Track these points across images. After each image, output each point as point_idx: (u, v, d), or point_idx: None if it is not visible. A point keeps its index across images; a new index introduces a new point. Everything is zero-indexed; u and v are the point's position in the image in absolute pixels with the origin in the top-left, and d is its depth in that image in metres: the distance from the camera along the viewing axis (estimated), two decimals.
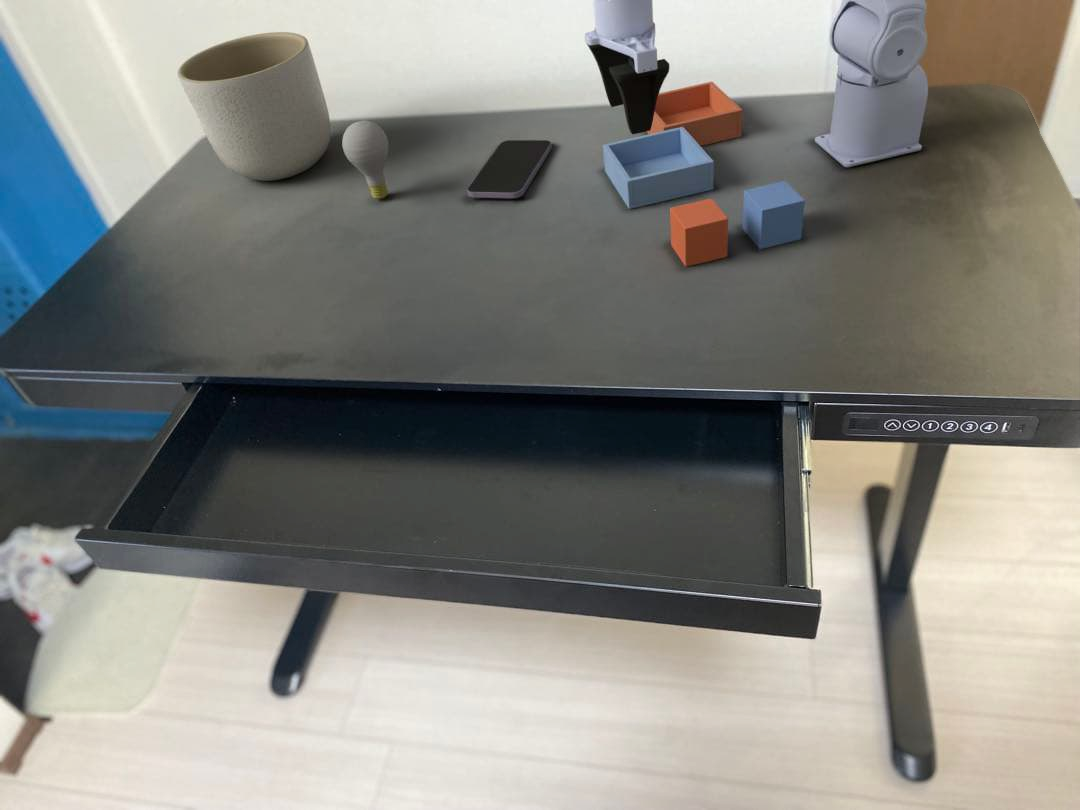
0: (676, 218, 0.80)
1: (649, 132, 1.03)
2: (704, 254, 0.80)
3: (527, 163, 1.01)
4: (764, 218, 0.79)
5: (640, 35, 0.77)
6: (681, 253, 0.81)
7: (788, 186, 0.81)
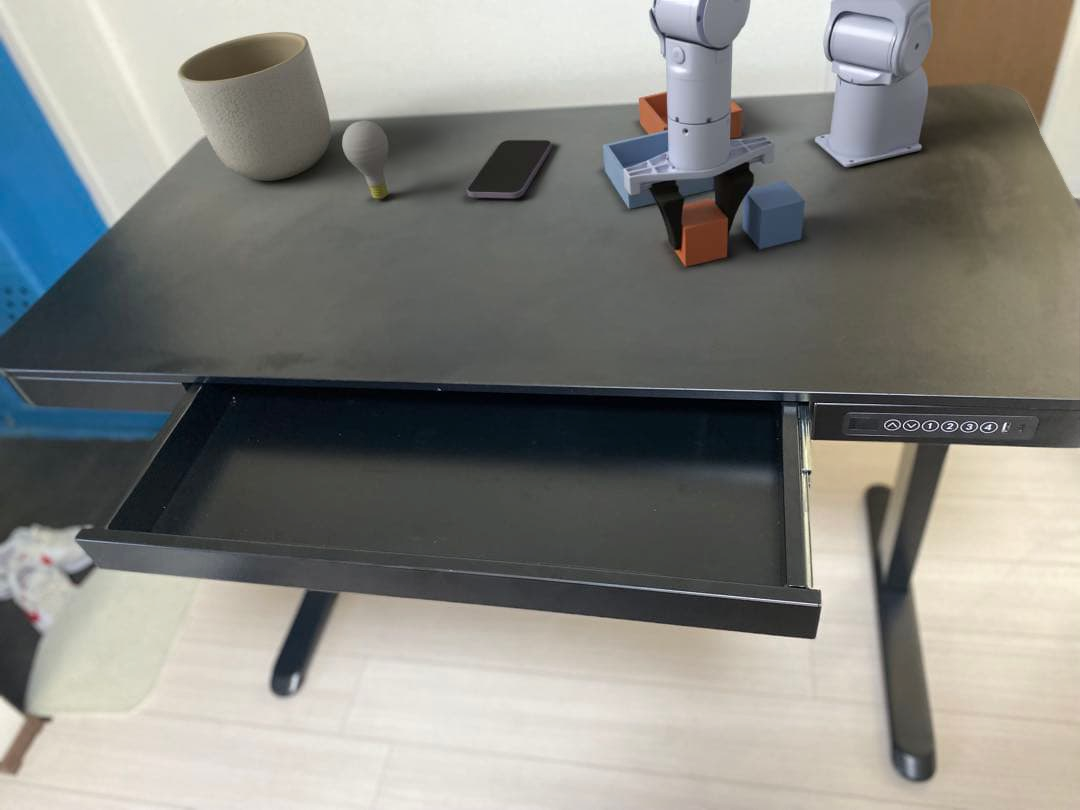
0: None
1: (649, 132, 1.03)
2: (704, 254, 0.80)
3: (527, 163, 1.01)
4: (764, 218, 0.79)
5: (673, 166, 0.75)
6: (681, 253, 0.81)
7: (788, 186, 0.81)
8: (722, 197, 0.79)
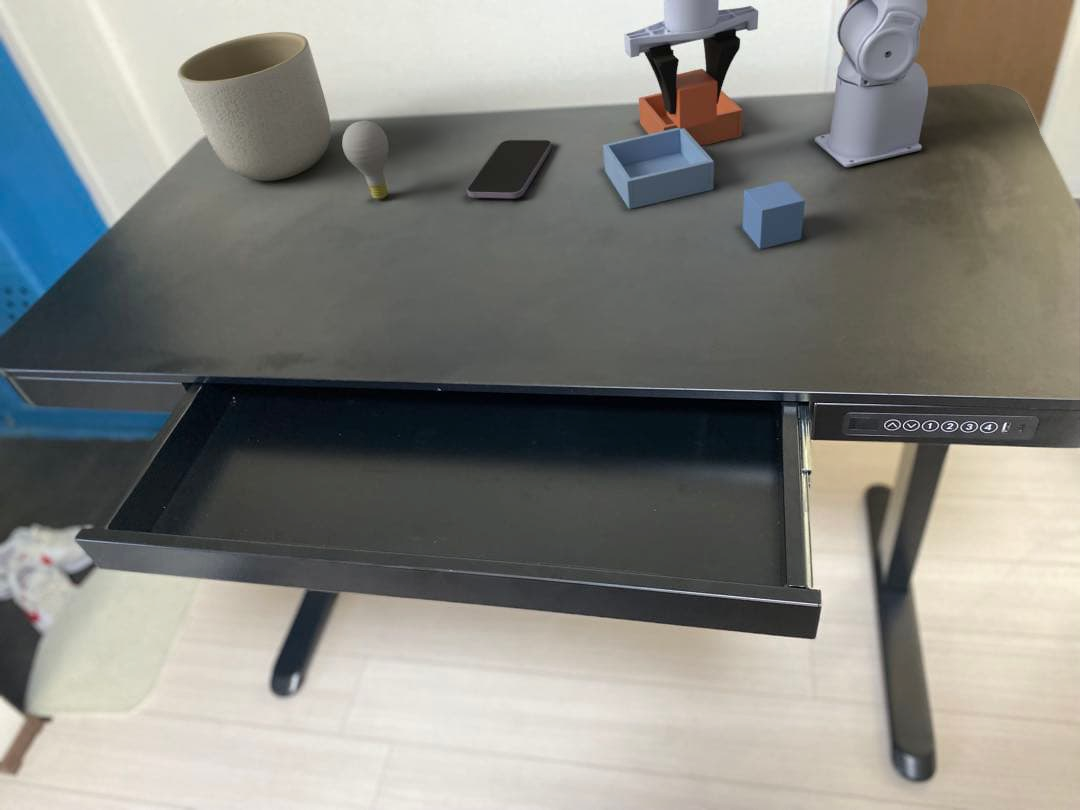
0: None
1: (649, 132, 1.03)
2: (696, 117, 0.90)
3: (527, 163, 1.01)
4: (764, 218, 0.79)
5: (668, 30, 0.84)
6: (676, 117, 0.91)
7: (788, 186, 0.81)
8: (712, 63, 0.88)
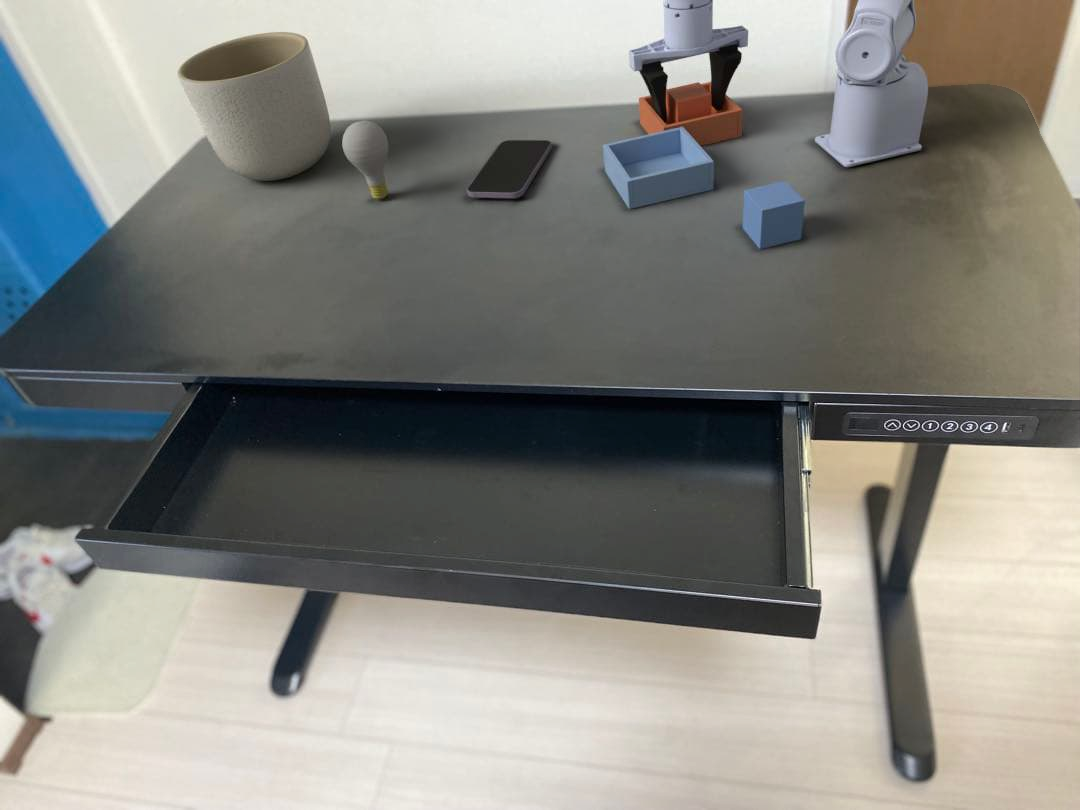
0: (670, 97, 1.00)
1: (649, 132, 1.03)
2: None
3: (527, 163, 1.01)
4: (764, 218, 0.79)
5: (668, 47, 0.95)
6: None
7: (788, 186, 0.81)
8: (717, 74, 0.99)
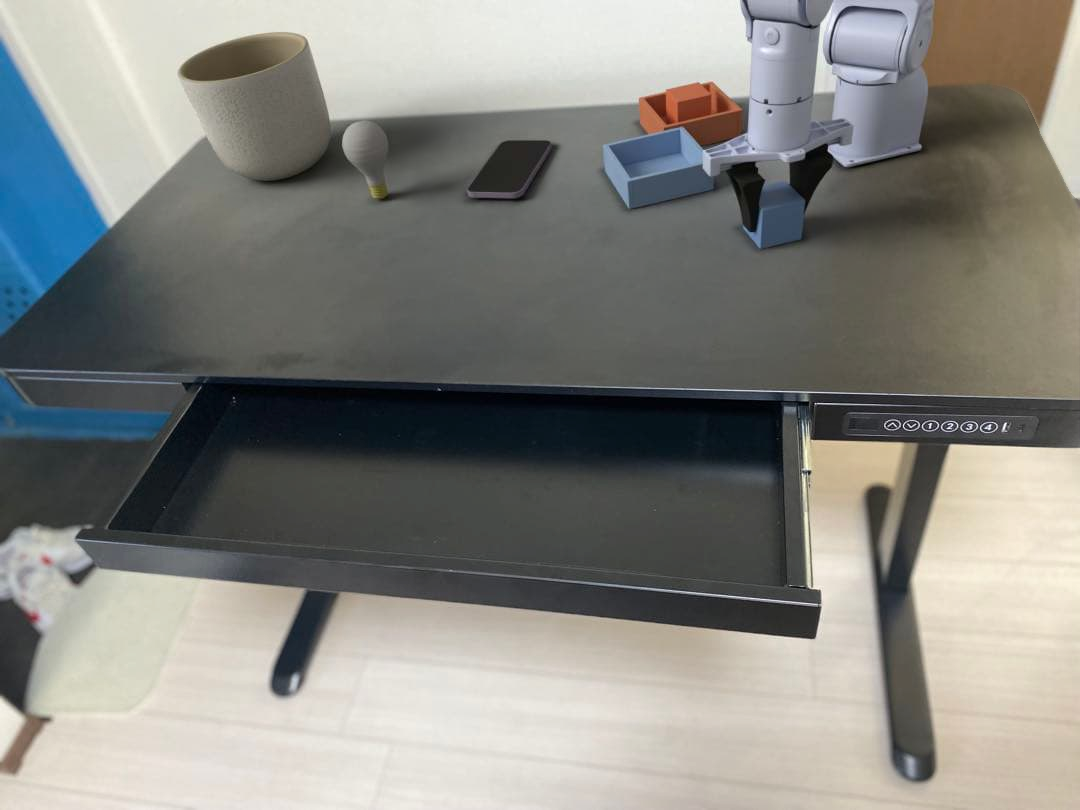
0: (670, 97, 1.00)
1: (649, 132, 1.03)
2: None
3: (527, 163, 1.01)
4: (764, 218, 0.79)
5: None
6: None
7: (788, 186, 0.81)
8: None
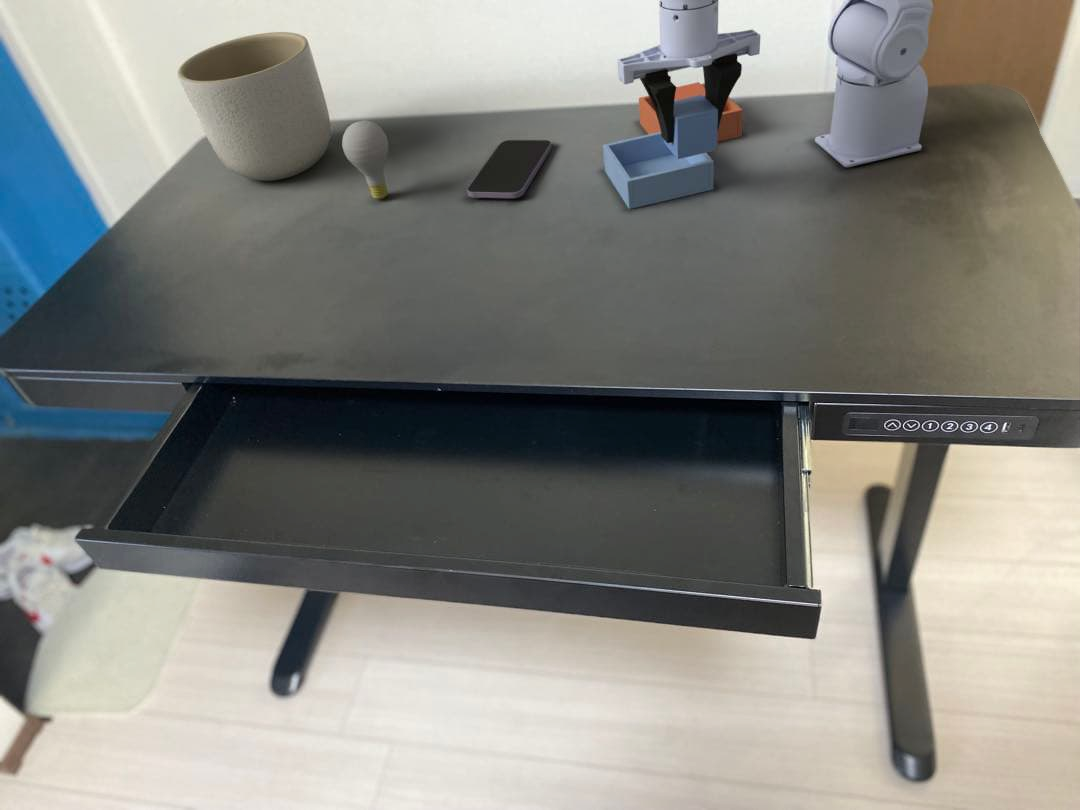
0: None
1: (649, 132, 1.03)
2: None
3: (527, 163, 1.01)
4: (680, 127, 0.83)
5: None
6: None
7: (704, 99, 0.85)
8: None
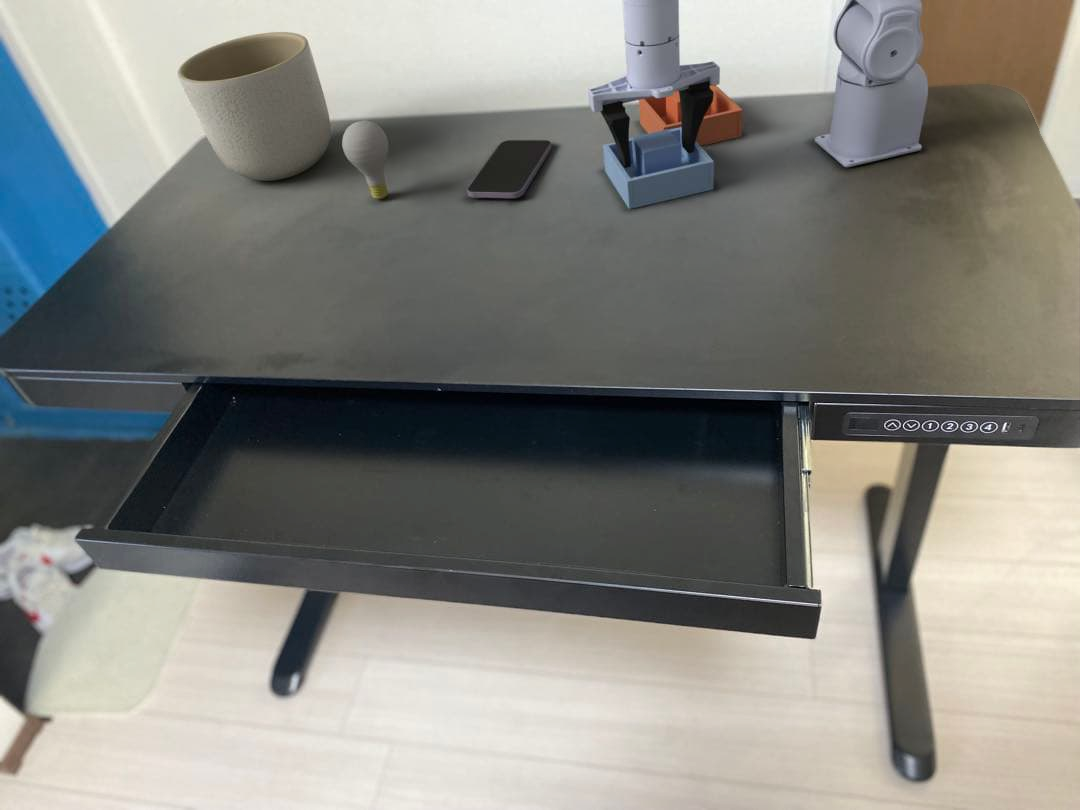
0: (670, 97, 1.00)
1: (649, 132, 1.03)
2: None
3: (527, 163, 1.01)
4: (646, 160, 0.90)
5: None
6: None
7: (669, 133, 0.92)
8: None
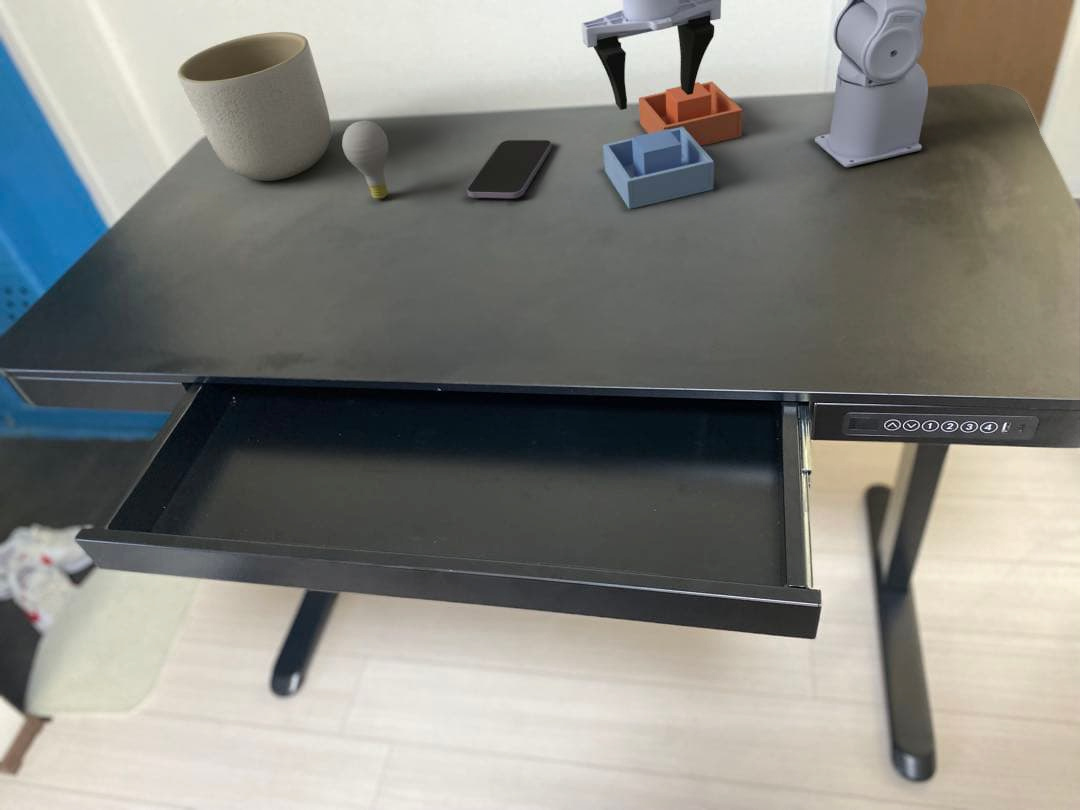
0: (670, 97, 1.00)
1: (649, 132, 1.03)
2: None
3: (527, 163, 1.01)
4: (646, 160, 0.90)
5: None
6: None
7: (669, 133, 0.92)
8: None
